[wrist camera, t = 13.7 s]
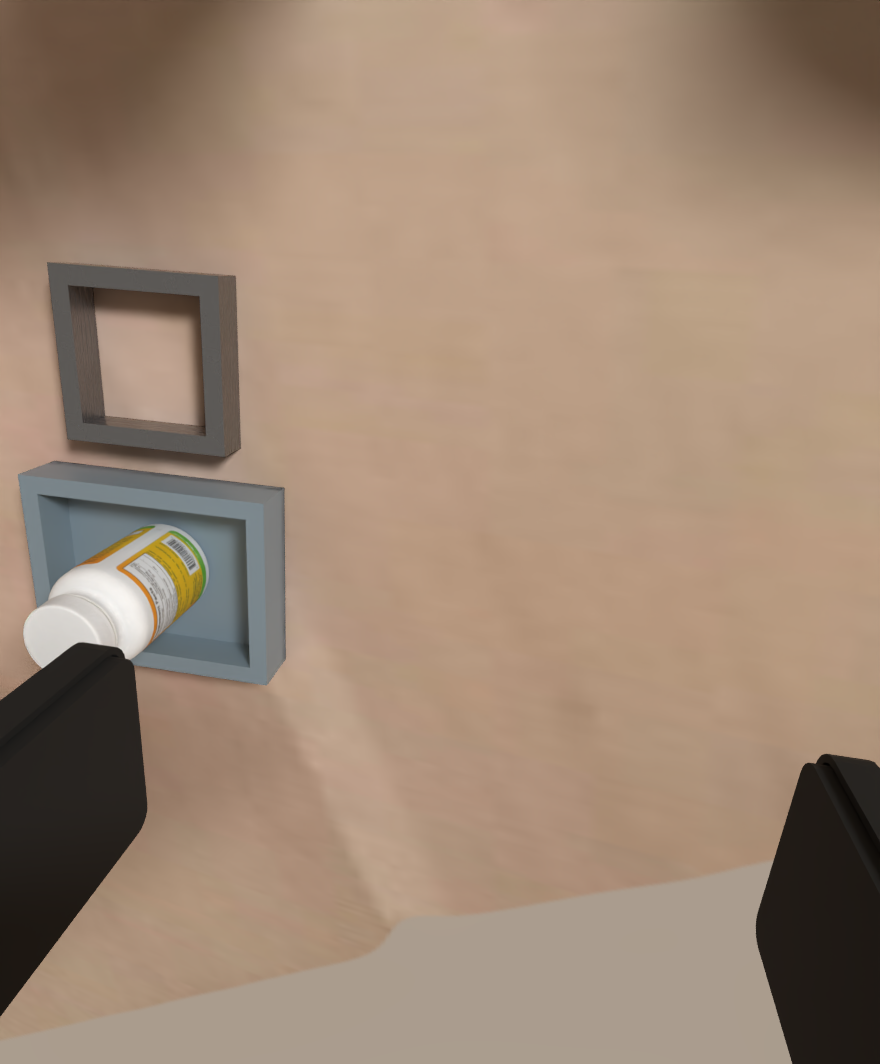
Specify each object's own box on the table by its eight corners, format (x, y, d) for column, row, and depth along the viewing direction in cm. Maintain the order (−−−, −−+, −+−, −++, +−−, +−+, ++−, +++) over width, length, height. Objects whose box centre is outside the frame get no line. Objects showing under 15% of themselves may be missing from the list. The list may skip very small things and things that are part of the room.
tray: (54, 460, 41) (17, 474, 39) (284, 488, 40) (263, 504, 37) (75, 628, 45) (43, 651, 42) (285, 659, 44) (266, 685, 41)
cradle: (72, 262, 37) (47, 262, 35) (235, 276, 36) (218, 276, 34) (90, 431, 40) (67, 439, 39) (240, 448, 39) (224, 456, 37)
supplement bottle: (124, 593, 43) (9, 678, 34) (128, 511, 41) (6, 578, 32) (208, 615, 43) (113, 707, 34) (215, 534, 41) (117, 609, 32)
